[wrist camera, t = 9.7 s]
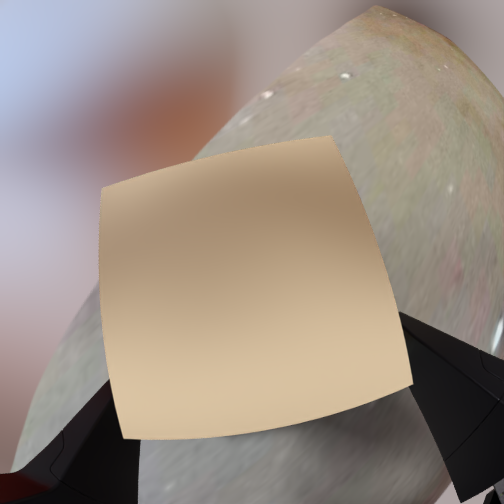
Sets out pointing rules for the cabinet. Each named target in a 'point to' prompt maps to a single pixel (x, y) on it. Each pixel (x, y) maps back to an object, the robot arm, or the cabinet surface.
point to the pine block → (244, 295)
